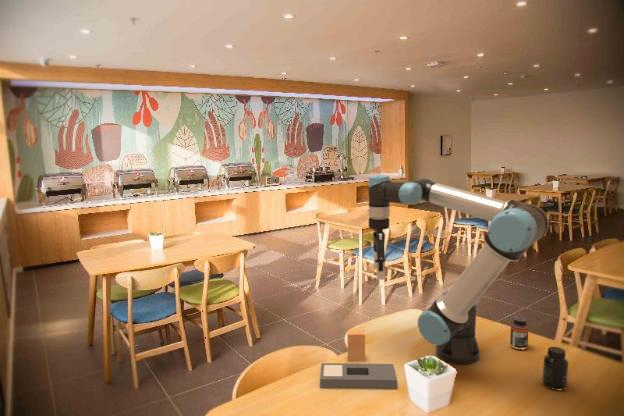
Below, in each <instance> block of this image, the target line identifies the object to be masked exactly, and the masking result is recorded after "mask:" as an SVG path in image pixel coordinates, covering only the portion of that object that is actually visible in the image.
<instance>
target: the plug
mask: <svg viewBox="0 0 624 416" xmlns="http://www.w3.org/2000/svg"><path fill="white" fill-rule="evenodd" d="M347 362H366V332H365V330H364V329H362V330H361V329H359V330H358V329H356V330H355V329H353V330H352V329H349V330H348V329H347Z"/></svg>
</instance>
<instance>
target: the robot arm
mask: <svg viewBox="0 0 624 416" xmlns="http://www.w3.org/2000/svg"><path fill="white" fill-rule="evenodd" d="M367 189H368V190H367V191H368V208H366V211H367V212H368V217H369V218H368V229H371V230H373V233H372V235H373V269H375V270H376V280H381V281H382V280H383V281H384V280H385V262H386V255H385V254H386V253H385V239H386V234H385V232H384V231H383V230H387V229H389V228H390V218H389V217H390V214H391V213H390V209H391V208H390V203H394V204H400V205H407V206H409V205H413V206H414V205H417V204H419V202H420V201H422V202H426V203H429V204H433V205H436V206H441V207H443V208H446V209H450V210H453V211H456V212H459V213H463V214H467V215H469V216H471V217H472V216H473V217H476V218H479V219H481V220H485V221H488V222H489V225H488V230H487V232H486V233H485V234H484V236H483V242H484V244H483V246H482V247H481V248H480V249H479V251H478V252H477V253H476V254H475V256H474V257H473V258H472V260H471V261H470V263H468V265H467V266H466V268H465V269H464V270H463V272H462V273H461V274H460V275H459V276H458V278H457V280H456V281H455V282H454V283H453V285H452V286H450V288H449V290H446V291H444V292H443V293H442V294H441V295H438V296H437V298H436V299H434V302H432V304H431V305H430V306H429V308H428V309H427V310H424V311H422V312H421V314H420V315H419V316H418V317H417V328H418V331H419V333H420V335H421V336H422V338H423V339H424V340H425V341H426V342H428V343H430V344H432V345H435V347H436V348H435V354H436V355H437V357H439V359H442V360H444V361H445V362H448V363H451V362H452V364H456V363H458V364H457V365H468V364H467V363H471V364H473V363H472V362H474V363H476V362H478V361H479V360H480V358H479V357H480V355H481V351H480V347H479V344H478V341H477V337H476V328H477V327H476V325H477V324H476V322H477V307H478V305H477V302H478V300H479V299H480V298H481V297H482V296H483V294H484V293H486V291H487V289H488V288H489V287H490V286H491V285H492V284H493V282H494V281H495V280H496V279H497V278H498V277H499V276H500V274H501V273H502V272H503V271H504V270H505V268H507V266H508V264H509V263H510V262H518V261H519V260H520V259H521V257H523V255H524V254H525V253H526V252H527V251H528V249H529V248H530V247H531V246H532V245H533V244H534V243H536V242H538V241H539V240H541V239H542V238H544V237H545V235H546V234H547V233H548V231H549V226H550V223H549V222H550V221H549V218H548V216H547V213H546V212H545V210H543V209H542V208H540V207H539V206H537V205H534V204H531V203H527V202H523V201H518V200H514V199H508V200H507V201H505V200H502V199H499V198H495V197H490V196H487V195H483V194H481V193H476V192H472V191H468V190H464V189H462V188H459V187H458V188H457V187H454V186H453V187H452V186H449V185H446V184H443V183H438V182H436V181H434V179H431V178H424V177H423V178H420V179H419V178H418V179H414V180H409V181H408V180H407V181H406V180H405V181H391V180H390V176H389V175H387V174H374V175H370V176H369V177H368V187H367ZM478 359H479V360H478ZM477 360H478V361H477ZM475 361H476V362H475ZM459 363H460V364H459Z"/></svg>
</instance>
